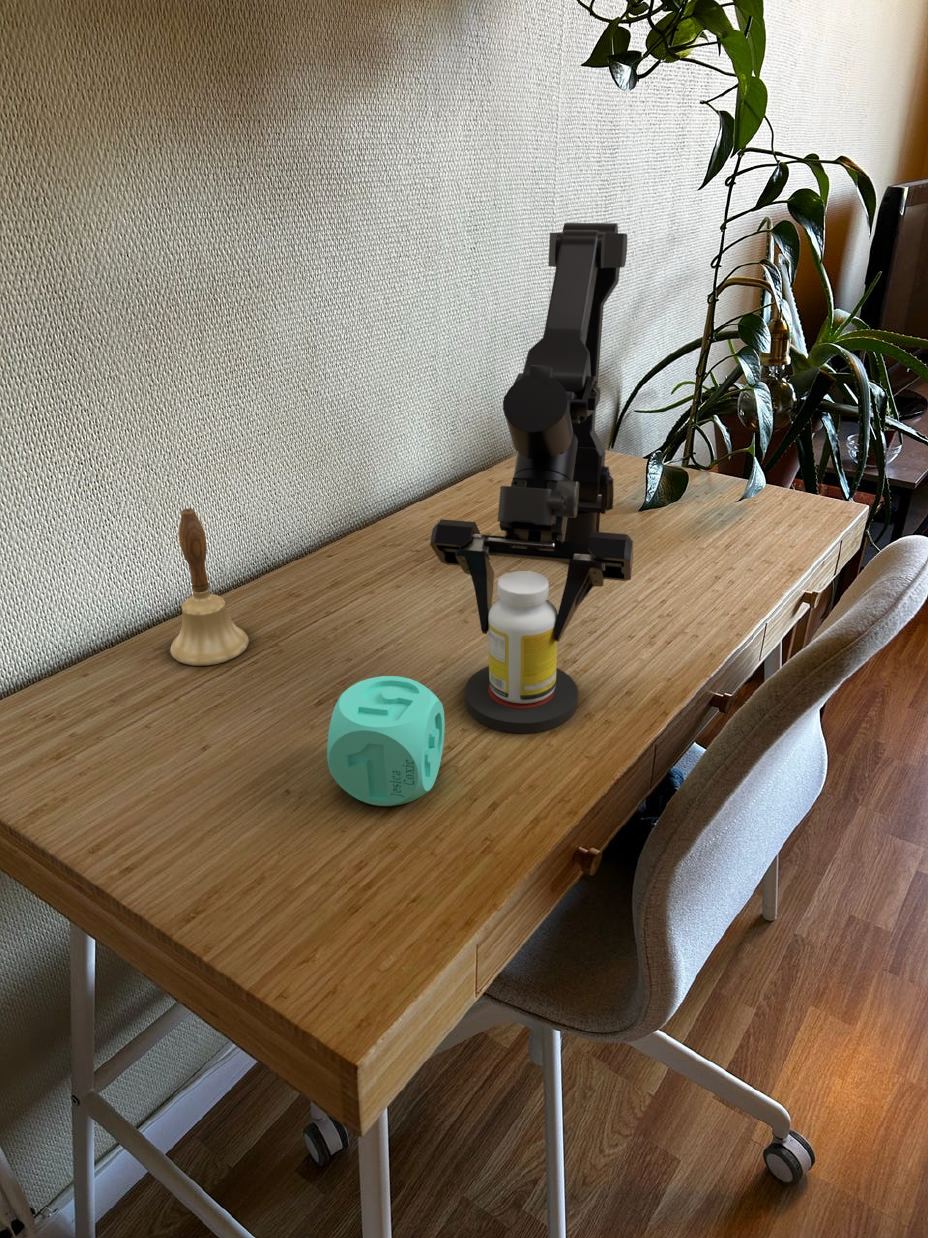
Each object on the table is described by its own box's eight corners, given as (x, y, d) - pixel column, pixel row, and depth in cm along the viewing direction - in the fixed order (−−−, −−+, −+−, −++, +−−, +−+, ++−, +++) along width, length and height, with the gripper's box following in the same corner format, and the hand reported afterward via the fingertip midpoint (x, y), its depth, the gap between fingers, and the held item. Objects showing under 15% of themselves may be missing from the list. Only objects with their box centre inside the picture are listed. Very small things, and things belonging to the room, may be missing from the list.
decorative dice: (330, 800, 77) (322, 722, 73) (361, 744, 83) (354, 670, 80) (422, 813, 75) (418, 734, 71) (446, 755, 82) (443, 680, 78)
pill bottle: (568, 684, 89) (573, 577, 84) (531, 715, 85) (533, 605, 79) (513, 663, 93) (514, 560, 87) (475, 692, 88) (473, 585, 83)
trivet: (529, 659, 96) (529, 648, 95) (601, 706, 88) (602, 695, 87) (443, 694, 90) (442, 683, 90) (511, 748, 83) (511, 736, 82)
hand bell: (263, 634, 102) (243, 499, 94) (222, 671, 95) (198, 530, 87) (199, 623, 104) (175, 491, 96) (154, 659, 97) (125, 520, 90)
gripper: (431, 437, 83) (401, 600, 79) (640, 450, 79) (619, 623, 75) (455, 488, 93) (429, 634, 89) (640, 501, 89) (622, 655, 85)
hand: (519, 636), depth 84 cm, fingers closed on pill bottle, 6 cm apart
